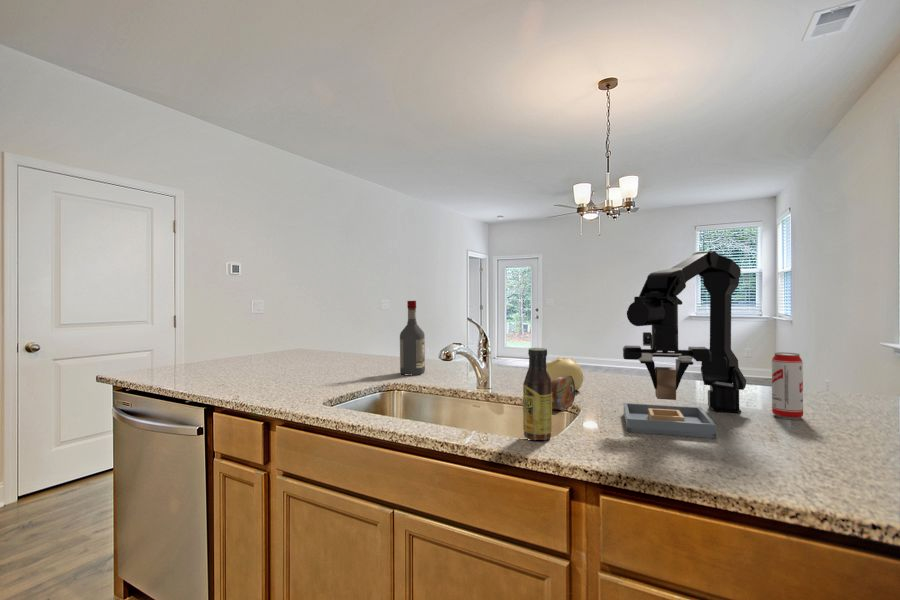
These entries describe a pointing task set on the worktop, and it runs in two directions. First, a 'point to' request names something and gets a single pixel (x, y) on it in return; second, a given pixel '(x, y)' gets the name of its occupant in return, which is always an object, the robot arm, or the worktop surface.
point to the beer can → (787, 385)
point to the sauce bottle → (537, 397)
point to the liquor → (412, 345)
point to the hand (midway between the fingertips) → (665, 389)
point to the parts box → (669, 420)
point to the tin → (562, 392)
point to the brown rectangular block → (665, 383)
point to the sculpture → (565, 370)
